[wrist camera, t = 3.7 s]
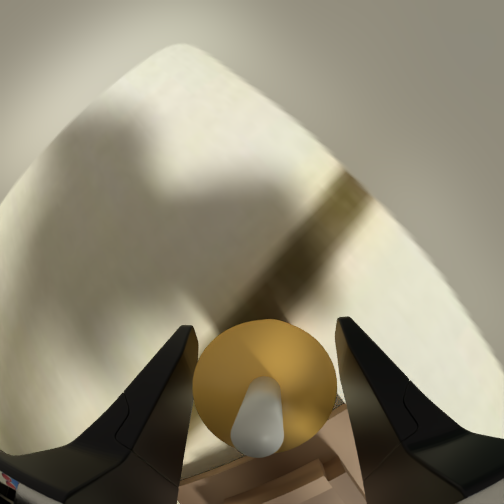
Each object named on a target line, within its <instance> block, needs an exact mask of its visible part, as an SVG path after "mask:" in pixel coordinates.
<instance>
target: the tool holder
mask: <svg viewBox="0 0 504 504" xmlns="http://www.w3.org/2000/svg"><path fill="white" fill-rule="evenodd" d="M363 482H364V481H363V480H362V475H361V470H360V465H359V460H358V455H357V450H356V446H355V441H354V436H353V432H352V427H351V423H350V418H349V414H348V410H347V405H346V404H345V403H344V404H342V405H341V406H339V407H337V408H336V409H334V410H333V411H332V412H331V414H330V416H329V418H328V420H327V422H326V423H325V424H324V426H323V427H322V428H321V429H320V430H319V431H318V432H317V433H316V434H315V435H314V436H313V437H312V438H311V439H309V440H308V441H306V442H305V443H303V444H301V445H300V446H297V447H295V448H293V449H290V450H287V451H284V452H279V453H273V454H271V455H269V456H266V457H262V458H254V457H249V456H244V457H242V458H240V459H237V460H235V461H232V462H230V463H228V464H225V465H223V466H220V467H217V468H215V469H212V470H210V471H207V472H204V473H201V474H198V475H196V476H193V477H190V478H187V479H184V480H181V481H180V484H179V487H178V488H179V491H178V498H177V500H178V502H179V503H180V504H367V502H366V497H365V491H364V486H363Z"/></svg>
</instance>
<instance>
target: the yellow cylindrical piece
mask: <svg viewBox="0 0 504 504" xmlns="http://www.w3.org/2000/svg"><path fill="white" fill-rule="evenodd" d="M192 390H193V398H194V402H195V406H196V409H197V411H198V414H199V416H200V417H201V419H202V421H203V423H204V424H205V425H206V426H207V428H208V429H209V430H210V431H211V432H212V433H213V434H214V435H215V436H216V437H217V438H219V439H220V440H221V441H223V442H225V443H226V444H228V445H230V446H232V447H234V448H236V449H237V450H238V451H239V452H241V453H242V454H244V455H246V456H249V457H254V458H262V457H266V456H269V455H271V454H273V453H279V452H284V451H287V450H290V449H293V448H295V447H297V446H300V445H301V444H303V443H305V442H306V441H308V440H309V439H311V438H312V437H313V436H314V435H315V434H316V433H317V432H318V431H319V430H320V429H321V428H322V427H323V426H324V424H325V423H326V422H327V420H328V418H329V416H330V414H331V412H332V410H333V407H334V404H335V400H336V394H337V378H336V373H335V369H334V366H333V363H332V361H331V359H330V357H329V355H328V353H327V352H326V351H325V349H324V348H323V346H322V345H321V344H320V343H319V342H318V341H317V340H316V339H315V338H314V337H312V336H311V335H310V334H309V333H307V332H305V331H304V330H302V329H300V328H298V327H296V326H294V325H291V324H289V323H286V322H283V321H280V320H276V319H264V320H256V321H250V322H245V323H242V324H239V325H236V326H234V327H232V328H230V329H228V330H226V331H224V332H223V333H221V334H220V335H218V336H217V337H216V338H215V339H214V340H213V341H212V342H211V343H210V344H209V345H208V346H207V347H206V349H205V350H204V352H203V353H202V355H201V356H200V358H199V360H198V362H197V365H196V368H195V371H194V376H193V387H192Z"/></svg>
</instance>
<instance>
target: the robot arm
mask: <svg viewBox="0 0 504 504" xmlns="http://www.w3.org/2000/svg"><path fill="white" fill-rule="evenodd" d="M335 343H336V350H337V358H338V366H339V374H340V380H341V385H342V389H343V393H344V397H345V401H346V405H347V410H348V414H349V418H350V423H351V427H352V432H353V436H354V441H355V446H356V450H357V455H358V460H359V465H360V470H361V475H362V480H363V481H364V482H363V486H364V491H365V497H366V502H367V504H504V439H501V438H496V437H491V436H486V435H481V434H476V433H472V432H470V431H468V430H466V429H464V428H462V427H461V426H460V425H458V424H457V423H456V422H455V421H454V420H452V419H451V418H450V417H449V416H448V415H447V414H445V413H444V412H443V411H442V410H441V409H440V408H438V407H437V406H436V405H435V404H434V403H433V402H432V401H431V400H429V399H428V398H427V397H426V396H425V395H424V394H423V393H422V392H421V391H420V390H419V389H418V388H417V387H416V386H415V385H414V384H413V382H412V381H411V380H410V381H409V378H408V377H407V376H406V375H405V374H404V373H403V372H402V371H401V370H400V369H399V368H398V367H397V366H396V364H395V363H394V362H393V361H392V360H391V359H390V358H389V357H388V356H387V355H386V354H385V353H384V352H383V351H382V350H381V349H380V348H379V347H378V345H377V344H376V343H375V342H374V341H373V340H372V339H371V338H370V337H369V336H368V335H367V334H366V333H365V332H364V331H363V330H362V329H361V328H360V327H359V326H358V325H357V324H356V323H355V322H354V321H353V319H352V318H350V317H339V318H338V319H337V324H336V331H335ZM197 362H198V340H197V336H196V333H195V330H194V327H193V326H192V325H182V326H180V327H179V328H178V329H177V331H176V332H175V333H174V334H173V335H172V336H171V337H170V339H169V340H168V341H167V342H166V343H165V344H164V346H163V347H162V348H161V349H160V350H159V351H158V352H157V354H156V355H155V356H154V357H153V358H152V359H151V360H150V362H149V363H148V364H147V365H146V366H145V367H144V369H143V370H142V371H141V372H140V373H139V374H138V375H137V377H136V378H135V379H134V380H133V381H132V382H131V384H130V385H129V386H128V387H127V388H126V389H125V391H124V393H122V394H121V395H120V396H119V397H118V398H117V400H116V401H115V402H114V403H113V404H112V405H111V406H110V407H109V408H108V409H107V410H106V411H105V412H104V413H103V414H102V415H101V416H100V417H99V418H98V419H97V420H96V421H95V422H94V423H93V424H92V425H91V426H90V427H88V428H87V429H86V430H85V431H84V432H83V433H82V434H81V435H80V436H79V437H77V438H76V439H75V440H74V441H72V442H71V443H69V444H67V445H65V446H62V447H58V448H54V449H50V450H45V451H41V452H36V453H31V454H26V455H20V456H13V455H9V454H6V453H5V452H3V451H1V450H0V471H1V472H3V473H4V474H6V475H7V476H9V477H11V478H12V479H14V480H16V481H18V482H19V483H18V486H17V490H15V489H13V488H12V487H10V486H8V485H6V484H4V483H3V482H1V481H0V504H177V498H178V491H179V488H178V487H179V484H180V478H181V471H182V465H183V459H184V452H185V446H186V440H187V434H188V429H189V423H190V417H191V411H192V406H193V400H194V398H193V390H192V387H193V376H194V371H195V368H196V365H197Z"/></svg>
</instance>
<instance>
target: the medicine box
mask: <svg viewBox="0 0 504 504" xmlns="http://www.w3.org/2000/svg"><path fill="white" fill-rule="evenodd" d="M0 481H1V482H3V483H4V484H6V485H8V486H10V487H12V488H13V489H15V490H17V486H18V483H19V482H18V481H16V480H14V479H12V478H11V477H9V476H7V475H6V474H4V473H3V472H1V471H0Z"/></svg>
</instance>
